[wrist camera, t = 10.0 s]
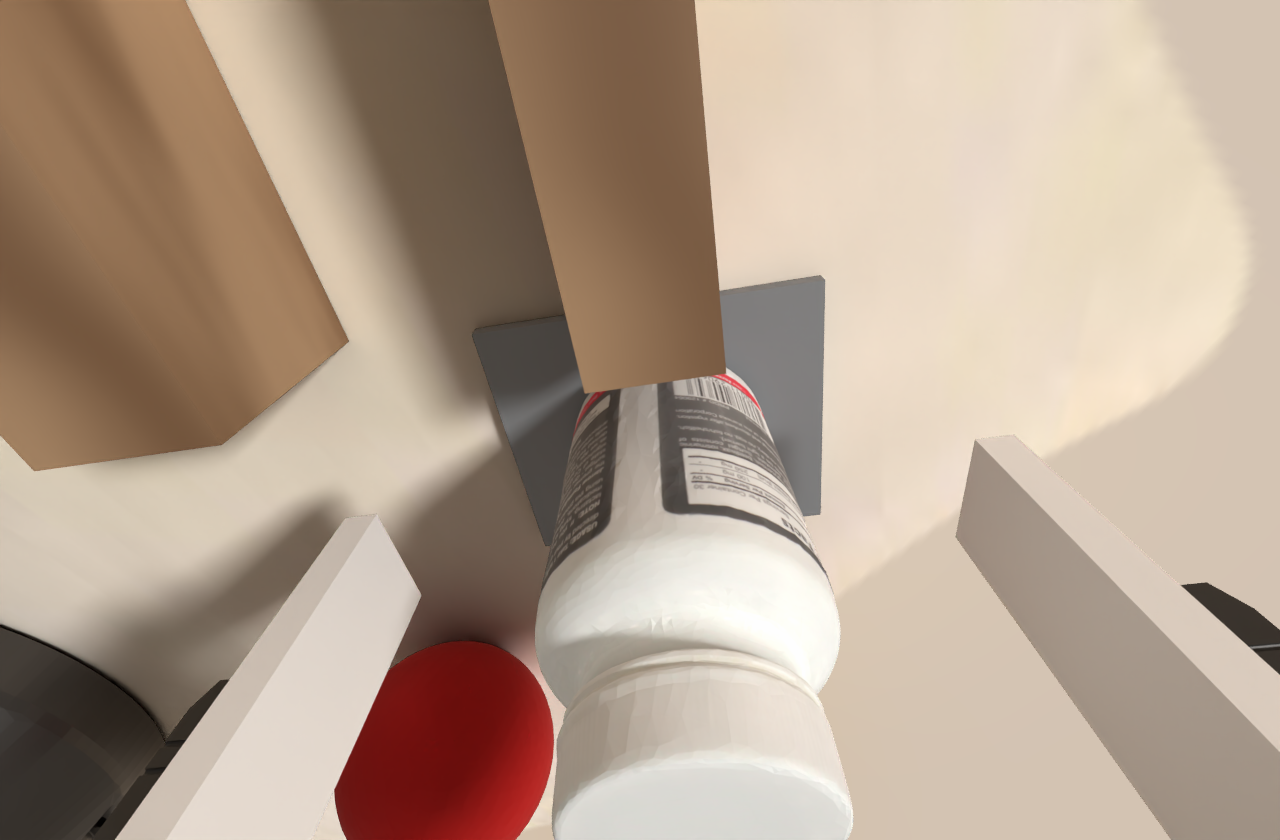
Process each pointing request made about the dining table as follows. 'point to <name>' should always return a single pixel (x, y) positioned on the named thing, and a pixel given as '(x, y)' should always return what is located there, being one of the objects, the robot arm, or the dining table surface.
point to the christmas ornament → (449, 749)
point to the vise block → (267, 241)
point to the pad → (754, 350)
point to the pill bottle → (687, 628)
